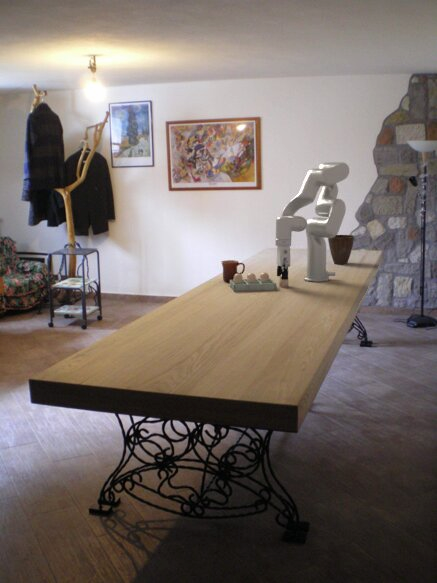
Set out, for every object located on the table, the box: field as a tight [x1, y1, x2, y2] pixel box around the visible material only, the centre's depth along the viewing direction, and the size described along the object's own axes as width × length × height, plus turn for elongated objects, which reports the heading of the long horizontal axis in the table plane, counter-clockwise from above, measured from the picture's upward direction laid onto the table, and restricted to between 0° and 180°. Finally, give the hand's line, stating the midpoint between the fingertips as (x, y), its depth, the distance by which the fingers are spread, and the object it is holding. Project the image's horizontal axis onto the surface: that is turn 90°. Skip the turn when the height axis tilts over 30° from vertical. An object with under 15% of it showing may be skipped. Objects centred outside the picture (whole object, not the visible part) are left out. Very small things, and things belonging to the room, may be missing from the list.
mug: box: [221, 259, 246, 283], centre depth 336 cm, size 12×9×10 cm
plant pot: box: [327, 234, 355, 265], centre depth 381 cm, size 15×15×16 cm
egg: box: [278, 276, 289, 289], centre depth 320 cm, size 4×4×6 cm
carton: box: [229, 272, 277, 293], centre depth 318 cm, size 20×14×7 cm
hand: (282, 277), depth 319 cm, fingers open, 9 cm apart
